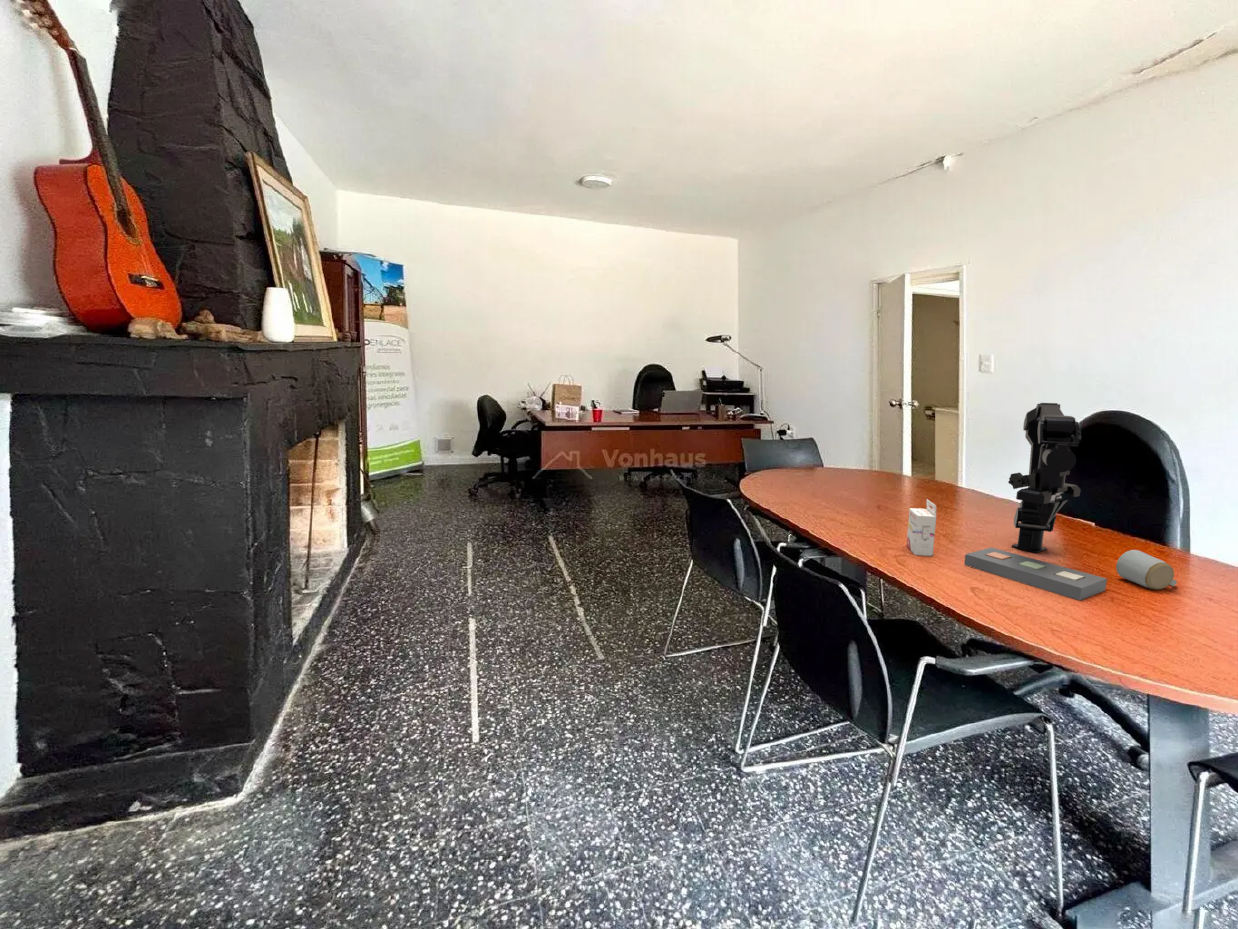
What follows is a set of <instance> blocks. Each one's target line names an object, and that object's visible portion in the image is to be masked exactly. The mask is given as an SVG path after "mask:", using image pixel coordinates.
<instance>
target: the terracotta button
mask: <svg viewBox="0 0 1238 929" xmlns="http://www.w3.org/2000/svg"><path fill="white" fill-rule="evenodd" d="M986 556H989V557H993V558H996V559H1000V560H1005V559H1009V558H1011V556H1007V555H1004V554H1000V553H997V552H993V553H989V554H986Z"/></svg>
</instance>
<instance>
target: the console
mask: <svg viewBox="0 0 1238 929" xmlns="http://www.w3.org/2000/svg"><path fill="white" fill-rule="evenodd" d="M993 552H997V553H1000V554H1004V555H1007V556H1011V558H1009V559H1005V560H1000V559H996V558H993V557H989V556H986V554H989V553H993ZM1026 561H1029V562H1033V563H1037V564H1040V565H1044V566H1045V568H1042V569H1039V570H1035V569H1031V568H1028V567H1024V566H1021V565H1019V563H1023V562H1026ZM963 566H967V567H969V566H971V567H970V568H973V567H974V568H973V569H976V570H980V571H984V572H985V573H990V574H993V575H996V576H998V577H1003V578H1005V579H1008V580H1013V581H1015V582H1019V583H1022V584H1025V585H1028V586H1030V587H1031V586H1032V587H1034V588H1037V589H1041V590H1044V591H1047V592H1051V593H1055V594H1058V595H1060V596H1064V597H1067V598H1070V599H1074V600H1077V601H1082V600H1085V599H1087V598H1090V597H1092V596H1096V595H1098V594H1100V593H1102V592H1105V591H1106V586H1107V581H1108V579H1107V577H1102V576H1099V575H1095V574H1092V573H1089V572H1084V571H1080V570H1077V569H1072V568H1069V567H1066V566H1062V565H1058V564H1054V563H1051V562H1046V561H1044V560H1043V561H1042V560H1040V559H1035V558H1032V557H1028V556H1025V555H1021V554H1017V553H1013V552H1010V551H1006V550H1003V549H999V548H995V547H988V548H984V549H980V550H977V551H971V552H969V553H965V555H964V565H963ZM1063 571H1066V572H1069V573H1073V574H1077V575H1080V576H1084V577H1083V579H1080V580H1078V581H1074V580H1070V579H1067V578H1063V577H1059V576H1056V575H1055V574H1057V573H1060V572H1063Z"/></svg>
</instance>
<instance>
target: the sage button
mask: <svg viewBox="0 0 1238 929" xmlns="http://www.w3.org/2000/svg"><path fill="white" fill-rule="evenodd" d="M1019 565H1021V566H1024V567H1028V568H1031V569H1035V570H1039V569H1042V568H1045V566H1044V565H1040V564H1037V563H1033V562H1029V561H1026V562H1023V563H1019Z"/></svg>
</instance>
